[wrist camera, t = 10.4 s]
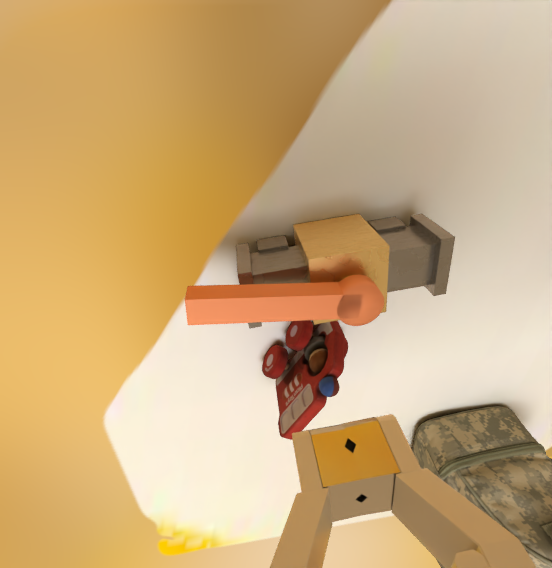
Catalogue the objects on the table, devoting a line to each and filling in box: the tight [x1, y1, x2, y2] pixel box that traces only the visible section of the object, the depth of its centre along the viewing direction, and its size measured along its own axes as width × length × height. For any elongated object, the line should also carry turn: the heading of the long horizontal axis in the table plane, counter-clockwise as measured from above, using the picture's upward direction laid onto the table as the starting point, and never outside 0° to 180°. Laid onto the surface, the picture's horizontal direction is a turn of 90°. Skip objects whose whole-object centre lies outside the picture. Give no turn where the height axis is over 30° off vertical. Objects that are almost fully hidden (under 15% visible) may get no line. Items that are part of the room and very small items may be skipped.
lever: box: [185, 275, 384, 326], centre depth 28 cm, size 16×4×2 cm, turn 87°
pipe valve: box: [236, 214, 455, 328], centre depth 34 cm, size 19×7×9 cm, turn 97°
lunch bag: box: [412, 406, 552, 568], centre depth 53 cm, size 26×18×22 cm
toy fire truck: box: [262, 320, 348, 440], centre depth 40 cm, size 7×12×10 cm, turn 146°
